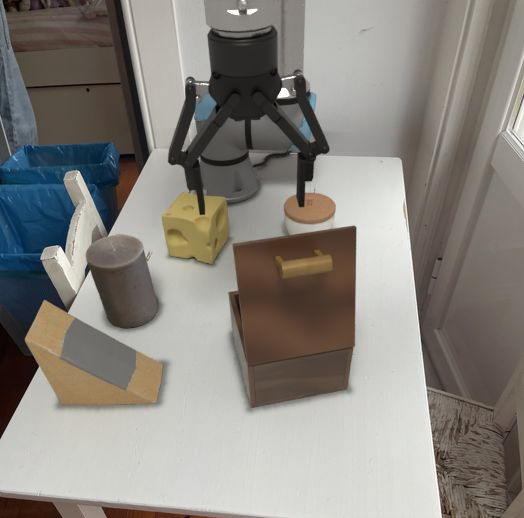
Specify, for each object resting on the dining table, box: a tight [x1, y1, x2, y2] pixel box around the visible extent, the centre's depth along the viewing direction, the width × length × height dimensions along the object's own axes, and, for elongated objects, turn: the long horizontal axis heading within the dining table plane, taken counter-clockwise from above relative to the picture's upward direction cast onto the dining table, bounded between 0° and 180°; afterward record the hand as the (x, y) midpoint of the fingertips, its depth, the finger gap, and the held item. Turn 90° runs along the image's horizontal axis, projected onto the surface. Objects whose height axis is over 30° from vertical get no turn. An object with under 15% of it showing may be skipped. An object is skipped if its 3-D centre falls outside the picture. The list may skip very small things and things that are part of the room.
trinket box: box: [283, 192, 337, 235], centre depth 102 cm, size 11×11×9 cm
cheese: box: [161, 191, 230, 265], centre depth 101 cm, size 10×11×10 cm
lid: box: [232, 225, 358, 366], centre depth 62 cm, size 17×16×6 cm
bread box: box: [227, 290, 355, 409], centre depth 78 cm, size 17×16×10 cm
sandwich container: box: [24, 299, 164, 406], centre depth 73 cm, size 9×15×15 cm, turn 90°
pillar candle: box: [85, 233, 159, 329], centre depth 86 cm, size 10×10×15 cm
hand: (251, 206), depth 67 cm, fingers open, 13 cm apart
